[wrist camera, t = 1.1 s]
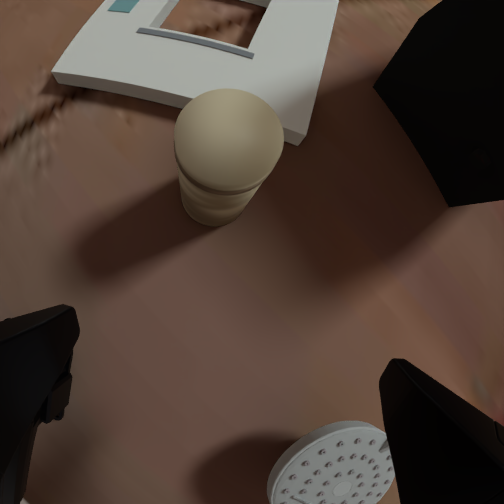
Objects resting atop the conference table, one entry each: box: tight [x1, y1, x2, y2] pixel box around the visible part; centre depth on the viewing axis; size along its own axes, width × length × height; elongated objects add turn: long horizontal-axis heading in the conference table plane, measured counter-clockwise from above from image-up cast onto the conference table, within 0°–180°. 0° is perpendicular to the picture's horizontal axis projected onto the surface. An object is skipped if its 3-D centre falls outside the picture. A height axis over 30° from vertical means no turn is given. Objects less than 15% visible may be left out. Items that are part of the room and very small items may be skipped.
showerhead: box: [267, 421, 395, 504], centre depth 19 cm, size 9×7×10 cm
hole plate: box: [51, 0, 339, 146], centre depth 23 cm, size 22×22×2 cm
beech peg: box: [174, 88, 284, 227], centre depth 18 cm, size 5×5×10 cm
